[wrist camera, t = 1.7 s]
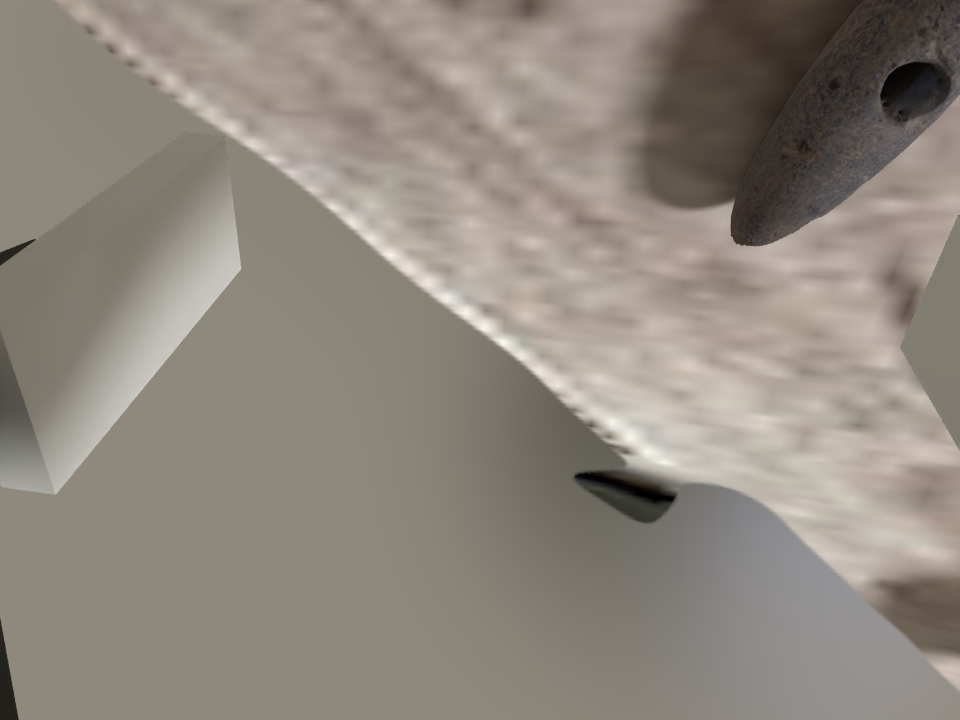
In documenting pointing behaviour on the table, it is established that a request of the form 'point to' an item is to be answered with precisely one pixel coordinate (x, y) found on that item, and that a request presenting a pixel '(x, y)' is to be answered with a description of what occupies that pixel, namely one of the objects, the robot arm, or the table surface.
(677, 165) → the table surface
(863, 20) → the perforated stone tool
